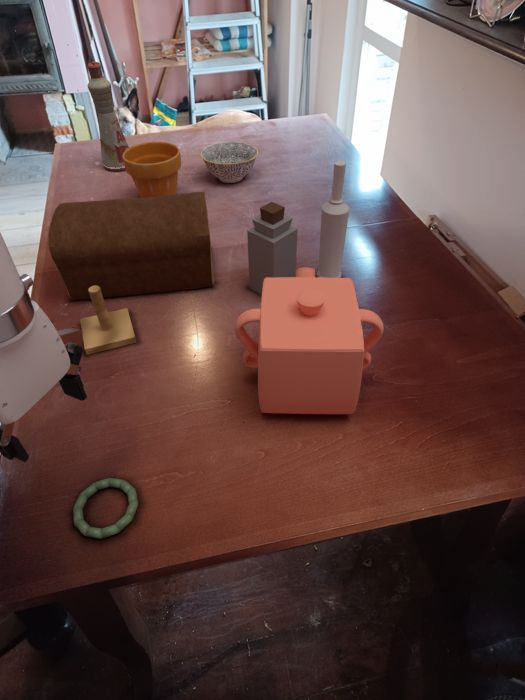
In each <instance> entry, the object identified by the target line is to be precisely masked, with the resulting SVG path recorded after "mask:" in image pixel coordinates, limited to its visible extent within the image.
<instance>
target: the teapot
mask: <svg viewBox="0 0 525 700" xmlns="http://www.w3.org/2000/svg"><path fill="white" fill-rule="evenodd" d="M253 322H258V323H259V324H258V325H259V327H258V341H257V342H256V340H254V339H253V338H252V336H250V334H249V333H248V332H247V331H246V329H245V327H244V326H245V325H247V324H251V323H253ZM362 323H366V324H370V325H373V326H374V327H373V328H372V330H371V331H370V332H369V333H368V334H367V335H366V336H365V337H364V333H363V327H362ZM384 327H385V326H384V323H383V321H382V318H381V317H380V316H379V315H378V314H377V313H376V312H374V311H372V310H370V309H366V308H365V309H364V308H360V307H359V303H358V298H357V293H356V288H355V284H354V281H353V279H352V278H351V277H341V278H322V277H317V276H316V268H313V267H309V266H307V267H306V266H303V267H298V268H297V267H296V277H276V278H265V279H264V281H263V288H262V295H261V299H260V308H252V309H251V308H250V309H247V310H246V311H244V312H242V313H241V314H239V316H238V317H237V319H236V320H235V323H234V332H235V336H236V337H237V339H238V341H239V342H240V343H241V345H242V346H243V347H244V348H245V350H244V352H243V354H242V361H243V363H244V365H245V366H246V367H247V368H250V369H257V391H258V403H259V408H260V409H259V410H260V412H261V413H263V414H290V415H292V414H295V415H354V414H355V412H356V409H357V406H358V403H359V398H360V393H361V385H362V377H363V370H365V369H367V368H368V367H369V366H370V365H371V364H372V363H371V362H372V355H371V353H370V352H369V351H370V350H371V349H372V348H373V347H374V346H376V345H377V343H378V342H379V341H380V340H381V338H382V337H383V334H384V331H385V329H384Z"/></svg>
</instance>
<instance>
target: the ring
mask: <svg viewBox="0 0 525 700" xmlns="http://www.w3.org/2000/svg"><path fill="white" fill-rule="evenodd" d="M107 488H115V489H120V490H122V492H124V493H125V494H126V496H127V501H128V506H127V508H126V510H125V512H124V515H123V516H122V517H121V518H120V519H119V520H117V521H116V522H115V523H114V524H112V525H108V526H106V527H102V528H100V527H94V526H90V525H89V523H88V522H87V521H86V520H84V511H83V510H84V507H85V505H86V503H87V501H88V499H90V498H91V497H92V496H93V495H95V494H96V493H97V492H98V491H100V490H104V489H107ZM73 505H74V506H73V507H72V518H73V525H74V526H75V528H76V529H77V530H78V531H79V532H80V533H81V534H82V535H83V536H84V537H86V538H87V537H88V538H93V539H100V540H103V539H105V538H109V537H111V536H114V535H116V534H120V533H121V532H122V531H123V530H124V529H125V528H126V527H127V526H128V525H130V523H131V522H132V521H133V520H134V519H135V518H134V517H135V514H136V512H137V509H138V506H139V499H138V495H137V490H136V488H134V486H132V485H131V484H130V483H129V482H128V481H127V480H125V479H122V478H115V477H107V478H104V479H101V480H97V481H95V482H92V483H91V484H90V485H89V486H88V487H87V488H85V489H84V490H83V491H81V492H80V494H79V495H78V497H77V499H76V501H75V503H74V504H73Z"/></svg>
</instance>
